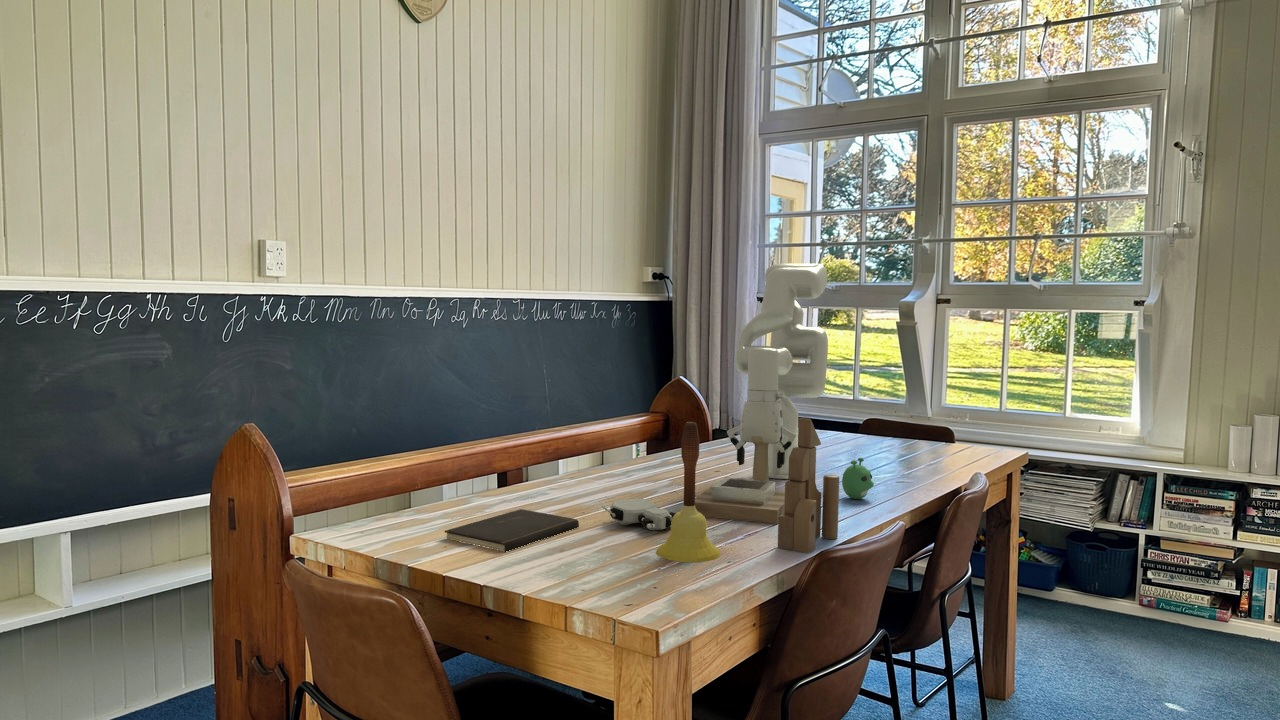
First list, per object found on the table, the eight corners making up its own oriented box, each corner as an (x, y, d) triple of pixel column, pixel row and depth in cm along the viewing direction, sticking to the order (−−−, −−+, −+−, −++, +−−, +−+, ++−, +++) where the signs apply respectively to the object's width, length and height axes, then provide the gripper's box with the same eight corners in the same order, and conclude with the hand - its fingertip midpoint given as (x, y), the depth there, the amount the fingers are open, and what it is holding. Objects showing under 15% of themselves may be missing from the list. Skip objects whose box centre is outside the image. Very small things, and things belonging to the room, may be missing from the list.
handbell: (730, 559, 164) (733, 426, 162) (667, 564, 160) (670, 427, 159) (707, 542, 176) (709, 417, 174) (647, 546, 172) (649, 418, 171)
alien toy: (866, 503, 212) (867, 462, 212) (836, 499, 217) (837, 458, 216) (877, 498, 218) (879, 458, 217) (848, 494, 223) (849, 455, 222)
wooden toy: (809, 554, 168) (812, 424, 167) (777, 548, 172) (780, 421, 171) (840, 537, 181) (843, 416, 179) (809, 532, 185) (813, 413, 183)
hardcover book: (444, 542, 175) (444, 530, 175) (520, 519, 194) (521, 508, 194) (505, 555, 166) (505, 543, 166) (579, 530, 185) (579, 519, 185)
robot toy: (688, 531, 188) (639, 513, 198) (690, 510, 187) (640, 494, 197) (648, 542, 179) (598, 522, 189) (650, 520, 178) (600, 502, 189)
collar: (725, 489, 212) (725, 477, 211) (774, 494, 207) (775, 481, 207) (711, 499, 200) (711, 486, 200) (763, 504, 196) (763, 491, 196)
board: (713, 497, 217) (713, 485, 217) (794, 504, 210) (795, 492, 210) (689, 514, 198) (689, 501, 198) (777, 523, 191) (777, 510, 191)
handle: (775, 495, 220) (777, 435, 219) (759, 498, 216) (760, 437, 215) (760, 491, 224) (762, 433, 223) (744, 495, 220) (745, 435, 219)
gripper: (800, 398, 219) (797, 466, 219) (732, 394, 225) (730, 461, 225) (794, 400, 212) (792, 471, 212) (724, 396, 218) (722, 465, 218)
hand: (760, 466), depth 219 cm, fingers open, 9 cm apart
